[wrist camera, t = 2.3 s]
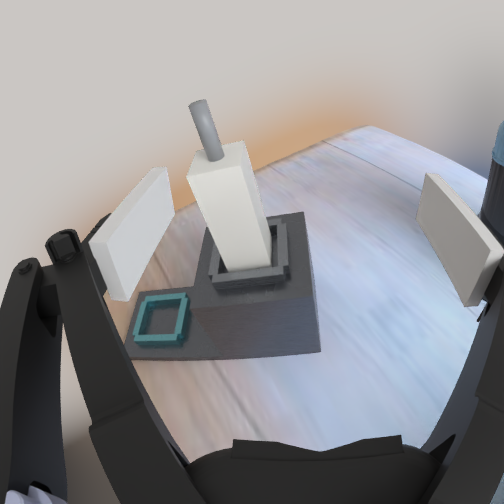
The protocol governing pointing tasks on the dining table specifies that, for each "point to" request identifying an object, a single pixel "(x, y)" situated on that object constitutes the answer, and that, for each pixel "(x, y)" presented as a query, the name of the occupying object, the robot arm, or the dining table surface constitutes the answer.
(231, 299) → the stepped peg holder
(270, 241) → the plug
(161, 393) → the dining table surface
